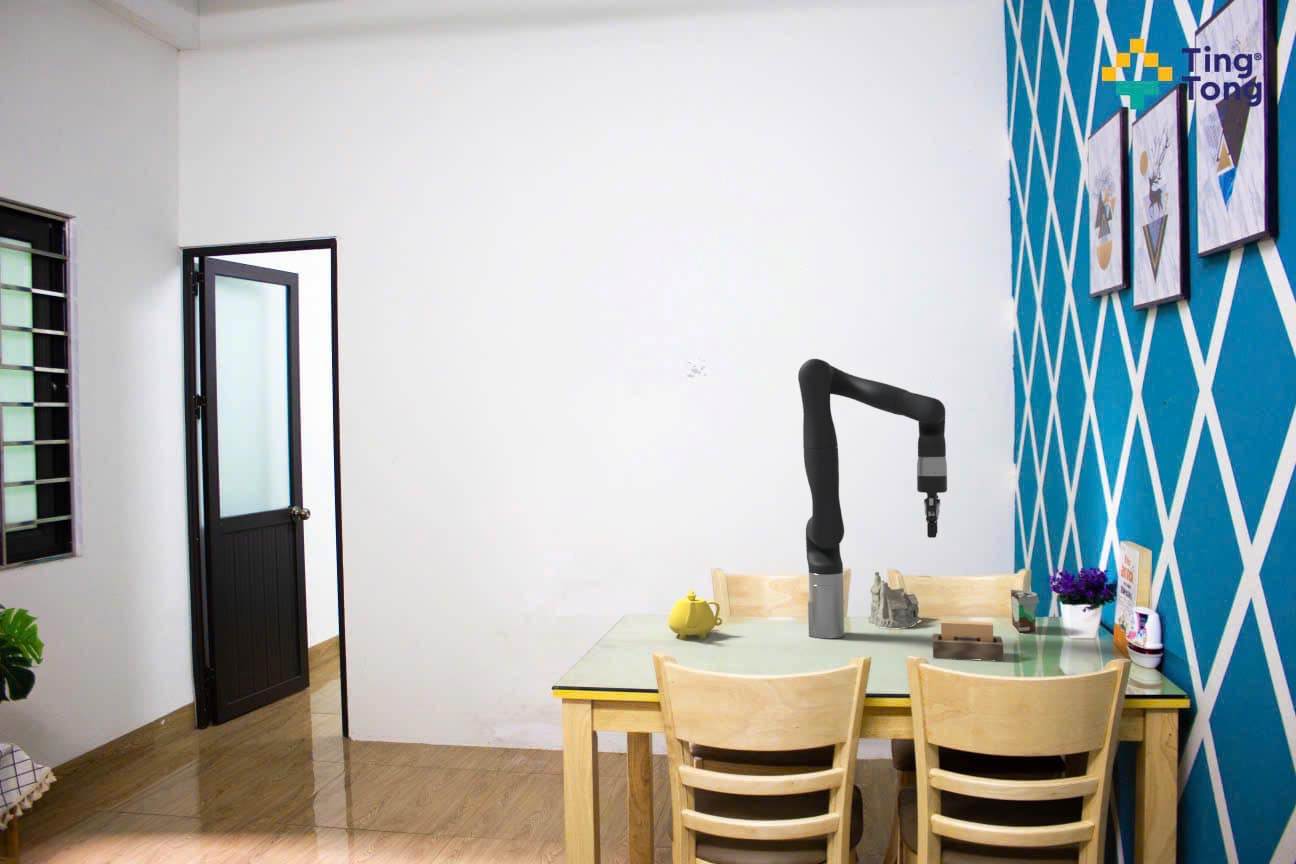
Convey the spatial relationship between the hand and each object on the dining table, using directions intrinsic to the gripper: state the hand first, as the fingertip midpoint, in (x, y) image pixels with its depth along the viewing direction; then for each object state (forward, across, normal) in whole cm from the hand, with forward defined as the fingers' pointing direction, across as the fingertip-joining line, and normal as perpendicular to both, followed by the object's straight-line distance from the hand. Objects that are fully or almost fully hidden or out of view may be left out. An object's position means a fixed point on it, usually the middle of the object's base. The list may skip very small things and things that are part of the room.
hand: (932, 535), depth 242 cm
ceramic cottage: (+28, +21, +11) cm, 37 cm away
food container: (+28, +19, -24) cm, 41 cm away
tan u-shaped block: (+28, -14, -8) cm, 32 cm away
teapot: (+29, -8, +63) cm, 69 cm away
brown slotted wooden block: (+28, -14, -8) cm, 32 cm away
